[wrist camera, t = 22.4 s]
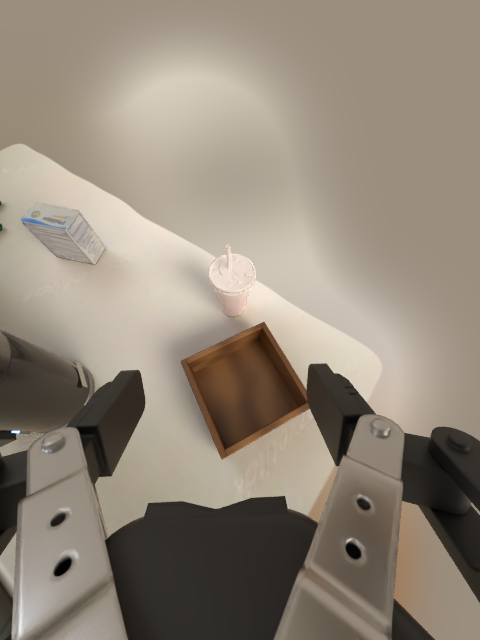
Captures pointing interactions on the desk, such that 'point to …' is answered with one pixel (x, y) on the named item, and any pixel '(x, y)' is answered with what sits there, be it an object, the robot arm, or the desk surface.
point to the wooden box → (245, 388)
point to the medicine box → (64, 232)
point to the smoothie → (232, 281)
